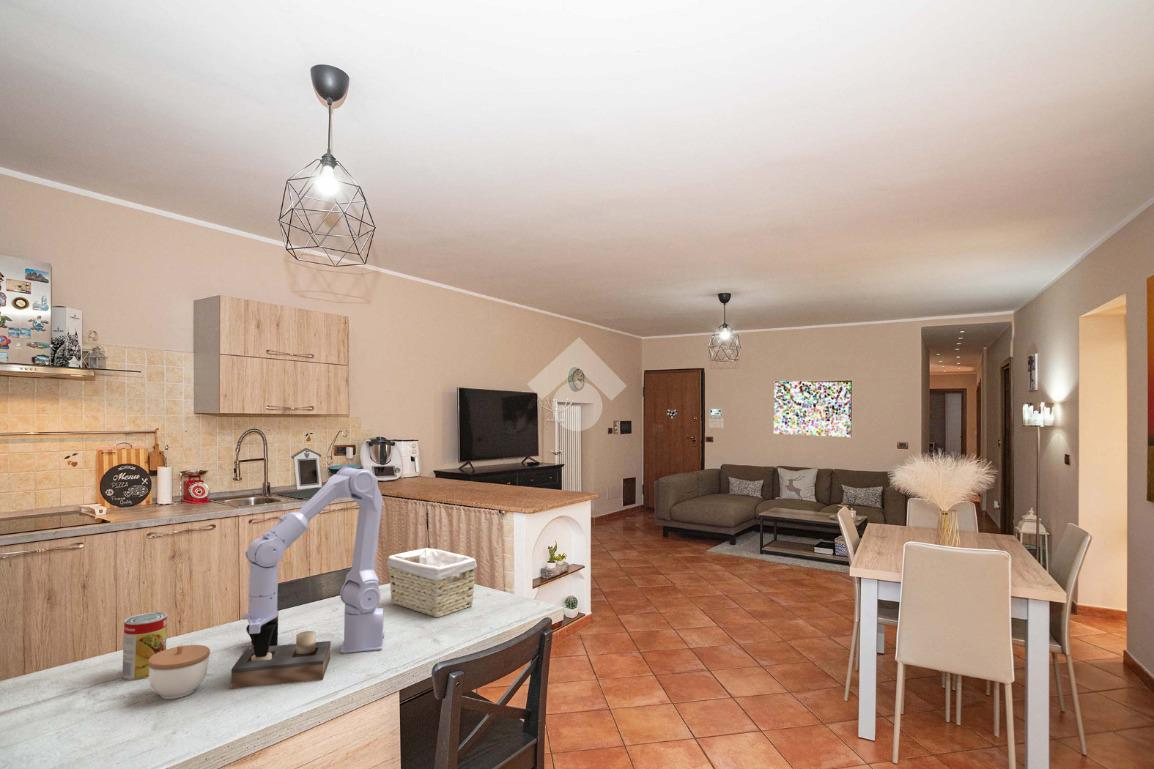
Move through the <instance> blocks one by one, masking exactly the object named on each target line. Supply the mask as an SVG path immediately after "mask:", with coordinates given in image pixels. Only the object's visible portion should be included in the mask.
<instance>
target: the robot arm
mask: <svg viewBox="0 0 1154 769" xmlns="http://www.w3.org/2000/svg"><path fill="white" fill-rule="evenodd" d="M378 481H379V478H378V477H377V476H376V475H375V474H374V473H373V472H372V471H371V470H368V469H365V468H361V469H360V468H354V467H348V466H346V467H342V468H340V469H339V470H338V471H337V472H336V473H334V474H333V475H331V476H330V477H329V479H328V480H327V482H326V483H325V484H324V485H323V486H322V487H321V488H320V489H319V490H318V491H317V492H316V493H315V494H314V495H313V496H312V497H311V498H310V499H309V500H308V501H307V502H306V503H305V504H304V505H303V506H302V507H301V508H300V509H298V511H296V512H293V511H292V512H288V513H286V514H282V515H281V516H280V517H279V521H278V522H277V523H276V524H275V525H273V527H271V528H270V529H269V530H268V531H264V532H263V533H262V535H261V536H263V537H259V538H256V539H254V540H253V541H251V542H250V544H249V545H248V548H247V549H246V550H247V551H245V558H246V560H247V561H248V562H249V576H248V577H249V578H248V579H249V580H248V613H243V614H242V616H241V619H242V620H247V622H248V624H247V626H246V628H245V631H246V633H247V634H248V636H249V637H250V639H251V640H252V643H253V644H252V643H251V644H252V648H254V653H255V656H256V657H265V656H266V655H267V654H268V650H269V646H270V641H271V637H272V634H273V631H274V628H275V626H276V624H277V622H278V623H279V618H278V619H274V618H276V617H277V616H278V617H279V610H278V611H277V609H278V595H279V594H278V593H279V592H278V586H279V585H278V583H279V582H278V581H279V563H280V562H281V561H282V559H283V557H284V552H285V551H286V550H287V549H288V548H289V547H290V546H292V545H293V544H294V543H295V542H296V541H297V540H298V539H299V538H300V537H301V536H302V535H303V534H305V532H307V530H308V526H309V522H310V521H311V520H312V519H314V517H316V516H317V515H318V514H319V513H320V512H322V511H323V510H324V509H325V508H327V507H328V506H329V505H331V503H333V502H334V501H335V500H337V499H343V498H349V497H350V498H351V499H352V500H353V501H354V502H355V503H356V504H357V505H358V507H359V508H358V514H357V521H356V522H357V523H356V529H355V530H356V531H355V539H354V546H353V555H352V563H351V569H350V570H349V572H347V573H346V575H345V581H344V583H343V585H342V587H341V589H340V592H339V595H340V596H339V597H340V600H341V602H342V603H343V604H344V618H343V619H344V624H343V625H344V626H343V634H344V635H343V641H342V646H341V649H340V654H347V653H357V652H368V651H379V650H382V649H383V644H384V639H385V631H384V623H385V622H384V617H385V616H384V615H385V611H384V608H382V607H381V608H380V607H378V605H379V604H380V602H381V591H380V588H379V586H380V585H379V584H380V583H379V582H380V580H379V578H378V575H377V573H376V571H375V565H376V557H377V550H378V543H379V542H378V541H379V534H380V532H379V531H380V527H381V515H382V508H383V496H382V493H381V490H380V488H379V485H378ZM251 640H250V641H251Z"/></svg>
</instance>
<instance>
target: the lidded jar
mask: <svg viewBox="0 0 1154 769" xmlns="http://www.w3.org/2000/svg"><path fill="white" fill-rule="evenodd" d="M210 651H211V650H210V648H209V647H208V646H207V645H202V644H188V645H187V644H186V645H184V644H183V645H182V644H180V645H177V646H173V647H171V648H166V650H163V651H160V652H158V653H156V654H154V655H153V656H151V657H150V658H149V660H148V666H149V678H148V680H149V685H150V687H151V688H152V690H153V691H154V692H155V693H156V694H158V695H159V696H160V698H162V699H164V700H174V699H179V698H183V697H186V696H189V695H191V694H193V693H194V692H195V691H196V689H197V688H198V687H199V686H200V684H201V683H202V682H203V680H204V679H205V678H206V675H207V671H208V667H209V662H210V654H211V652H210Z"/></svg>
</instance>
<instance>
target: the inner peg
mask: <svg viewBox="0 0 1154 769" xmlns="http://www.w3.org/2000/svg"><path fill="white" fill-rule="evenodd" d="M316 633H317V632H316V631H315V630H313V631H312V630H306V631H300V632H299V633H297V634H296V635H295V637H296V638H295V640H296V641H295V644H296V653H298V654H307V653H311V652H313V651H315V644H316V642H317V640H316V636H317V634H316Z"/></svg>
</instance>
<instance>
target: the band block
mask: <svg viewBox="0 0 1154 769" xmlns="http://www.w3.org/2000/svg"><path fill="white" fill-rule="evenodd" d="M331 643H332V642H331V640H326V641H316V644H315V651H313V652H311V653H307V654H298V653H296V643H292V644H291V643H290V644H282V645H281V644H280V645H277V646H269V650H268V652H270V653H272V659H270V660H259V661H251V658H252V656H253V655H255V653H254V648H253V647H246V648H245V650H244V651H243V652H242V654H240V656H239V658H238V660H236V661H235V663H234V665H233V666H232V668H230V690H231V689H233V690H234V689H240V688H241V689H242V688H251V687H252V688H253V687H262V686H272V685H281V684H282V683H283V684H291V683H300V682H312V681H321V680H324V678H325V675H326V672H327V669H328V665H329V663H330V660H331V645H332V644H331Z"/></svg>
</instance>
